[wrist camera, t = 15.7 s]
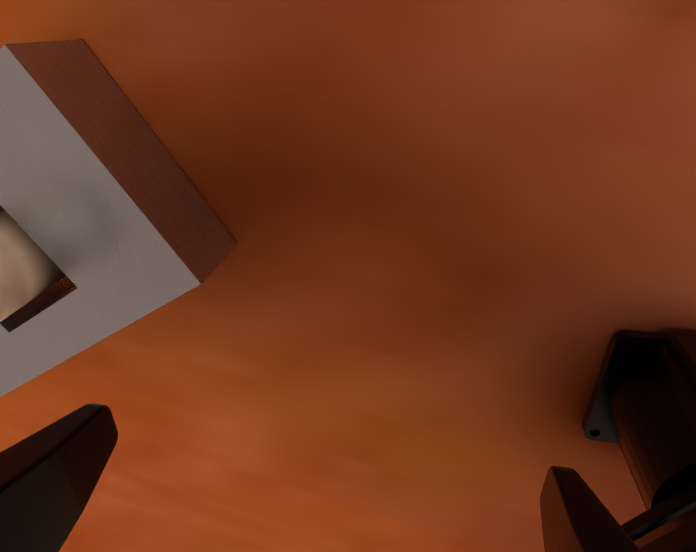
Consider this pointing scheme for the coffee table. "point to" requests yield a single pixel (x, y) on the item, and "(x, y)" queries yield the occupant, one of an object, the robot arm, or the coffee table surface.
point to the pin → (22, 267)
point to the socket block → (91, 206)
